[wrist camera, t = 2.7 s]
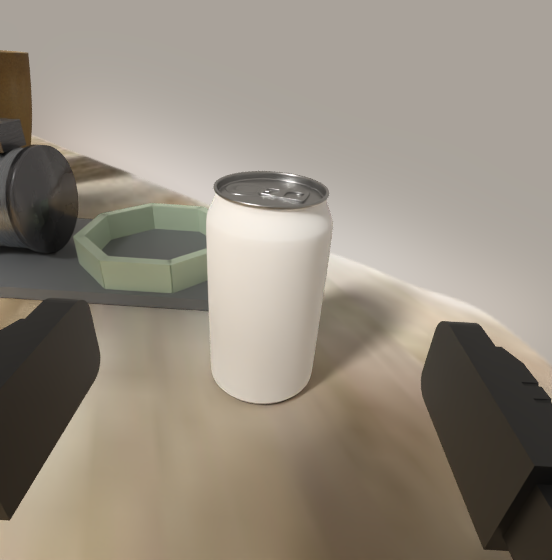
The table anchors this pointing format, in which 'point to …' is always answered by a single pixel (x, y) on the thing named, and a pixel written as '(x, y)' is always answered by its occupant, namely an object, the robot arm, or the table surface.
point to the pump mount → (119, 261)
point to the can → (266, 282)
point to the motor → (34, 193)
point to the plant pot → (16, 90)
